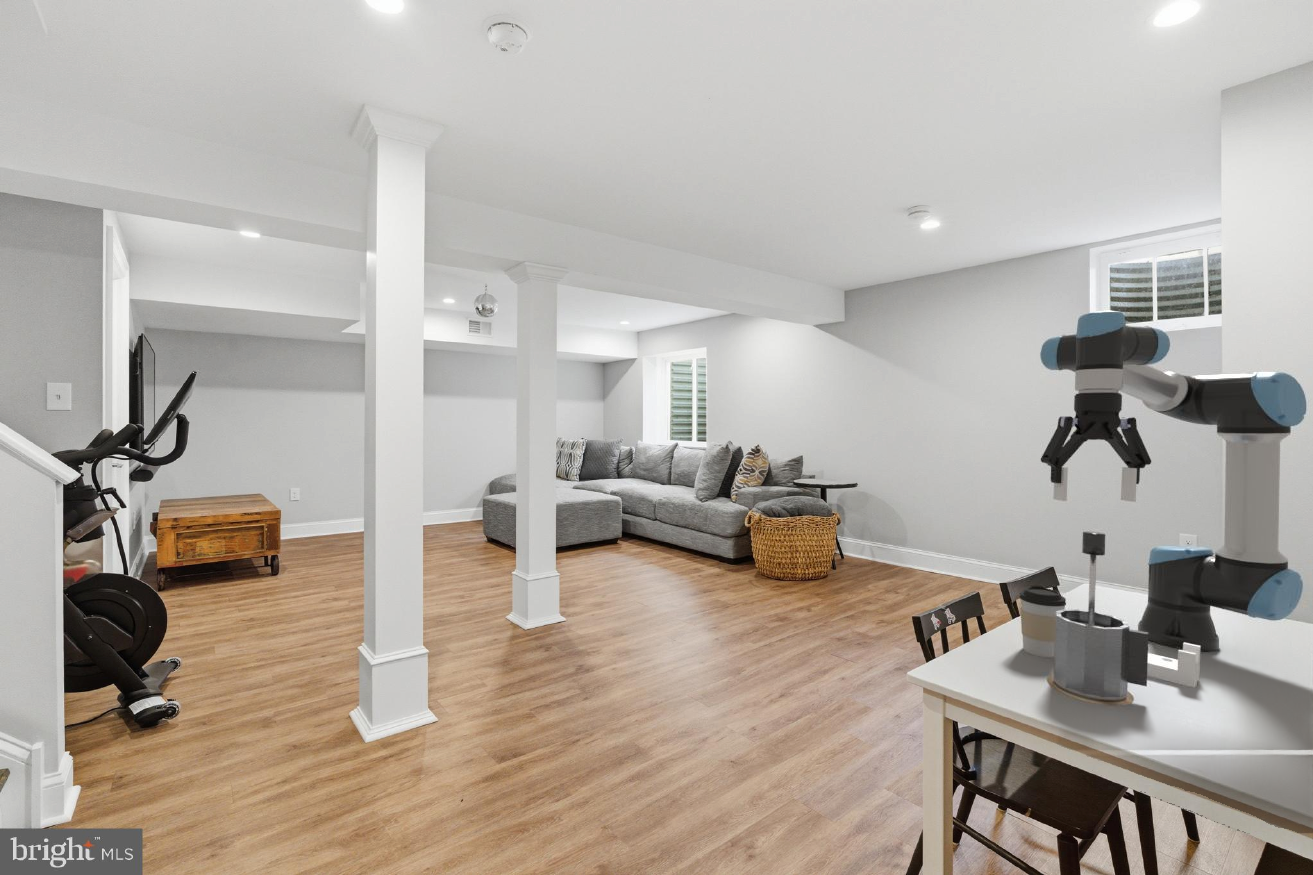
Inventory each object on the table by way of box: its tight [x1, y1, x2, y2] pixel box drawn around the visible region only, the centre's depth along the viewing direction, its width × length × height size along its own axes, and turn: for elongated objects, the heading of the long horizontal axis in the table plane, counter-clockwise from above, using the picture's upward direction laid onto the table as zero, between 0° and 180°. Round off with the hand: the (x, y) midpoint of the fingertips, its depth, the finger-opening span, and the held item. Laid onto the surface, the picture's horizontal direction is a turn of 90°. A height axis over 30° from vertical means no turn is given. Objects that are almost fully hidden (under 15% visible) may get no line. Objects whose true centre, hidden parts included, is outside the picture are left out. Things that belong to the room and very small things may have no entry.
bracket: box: [1147, 642, 1201, 688], centre depth 128 cm, size 13×7×8 cm, turn 41°
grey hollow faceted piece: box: [1053, 608, 1149, 702], centre depth 119 cm, size 13×12×14 cm
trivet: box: [1046, 674, 1135, 706], centre depth 119 cm, size 14×14×1 cm
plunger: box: [1077, 531, 1106, 627], centre depth 119 cm, size 8×8×20 cm
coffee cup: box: [1019, 585, 1067, 658], centre depth 138 cm, size 9×9×15 cm
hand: (1094, 500), depth 118 cm, fingers open, 13 cm apart
